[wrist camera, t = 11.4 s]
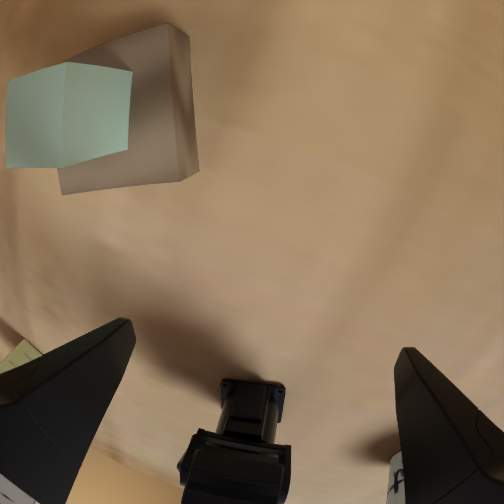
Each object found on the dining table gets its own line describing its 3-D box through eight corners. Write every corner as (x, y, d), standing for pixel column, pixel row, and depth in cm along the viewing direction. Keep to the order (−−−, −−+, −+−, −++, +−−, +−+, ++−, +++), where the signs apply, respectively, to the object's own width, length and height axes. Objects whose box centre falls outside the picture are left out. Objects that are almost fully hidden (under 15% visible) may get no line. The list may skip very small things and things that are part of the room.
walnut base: (201, 170, 21) (179, 181, 17) (92, 182, 22) (62, 195, 19) (191, 37, 17) (168, 22, 13) (81, 71, 18) (49, 68, 15)
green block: (127, 149, 17) (62, 167, 11) (70, 149, 17) (6, 167, 12) (132, 71, 15) (67, 61, 9) (73, 80, 15) (7, 80, 10)
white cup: (432, 429, 29) (444, 491, 20) (461, 451, 31) (471, 499, 22) (368, 459, 33) (370, 518, 24) (409, 477, 35) (413, 523, 26)
